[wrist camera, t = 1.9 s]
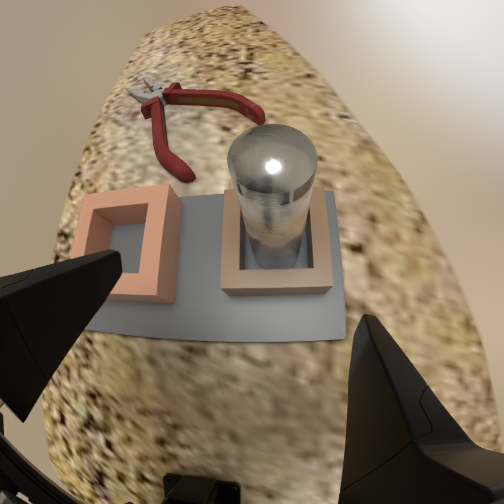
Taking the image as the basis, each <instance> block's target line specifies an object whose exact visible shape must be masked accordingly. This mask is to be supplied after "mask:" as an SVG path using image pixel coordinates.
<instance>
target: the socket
mask: <svg viewBox="0 0 504 504" xmlns="http://www.w3.org/2000/svg"><path fill="white" fill-rule="evenodd" d="M182 210H183V204H182V202H181V201H180V199H179V198H178V196H177V195H176V193H175V192H174V190H173V189H172V187H171V185H170V184H163V185H154V186H146V187H138V188H130V189H122V190H115V191H108V192H102V193H95V194H89V195H84V199H83V202H82V206H81V210H80V214H79V219H78V223H77V227H76V232H75V237H74V242H73V247H72V252H71V258H70V259H72V258H76V257H80V256H84V255H88V254H92V253H96V252H100V251H104V250H109V247H110V241H111V235H112V230H113V225H124V224H137V223H145V229H144V236H143V243H142V251H141V260H140V269H139V273H122V275H121V277H120V279H119V280H118V282H117V283H116V285H115V286H114V288H113V289H112V291H111V293H110V294H109V296H108V297H107V299H106V300H116V301H134V302H157V303H175V290H176V275H177V261H178V250H179V239H180V229H181V219H182Z"/></svg>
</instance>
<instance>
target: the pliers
mask: <svg viewBox="0 0 504 504" xmlns="http://www.w3.org/2000/svg"><path fill="white" fill-rule="evenodd" d="M143 80H144V81H145V83H146V84H147V85H148V87H149V88H150V89H151V91H152V93H150V94H149V93H146V92H145V91H143V90H139V89H129V88H126V90H127V91H128V92H129V93H130V94H132V95H133V96H134V97H135V98H136V99H138V100H139V101H140V102H142V103H144V104H142V105H141V112H142V114H143V116H144V117H145V119H148V118H151V119H152V135H153V146H154V150H155V154H156V156H157V159H158V160H159V162H160V163H161V165H162V166H164V167H165V168H166V169H167V170H168V171H170V172H171V173H172V174H173V175H175V176H176V177H177V178H178V179H179V180H181V181H183V182H191V181H193V180H194V179H195V178H196V177H195V174H194V173H193V171H192V170H191V168H190V167H189V166H188V165H187V164H186V163H185V162H184V161H183V160H181V159H180V158H179V157H177V156H176V155H175V154H174V153H172V152H171V151H170V150H169V148H168V140H167V132H166V123H165V114H164V106H165V105H166V104H171V105H198V106H214V107H224V108H229V109H233V110H235V111H238V112H240V113H241V114H243V115H244V116H246V117H247V118H249V119H250V120H252V121H253V122H255V123H256V124H258V125H259V126H260V125H262V124H263V123H264V120H265V113H264V111H263V109H262V108H261V107H260V106H258V105H257V104H255V103H253V102H252V101H250V100H249V99H247V98H245V97H244V96H242V95H240V94H237V93H233V92H227V91H220V90H196V89H182V88H181V86H180V83H172V84H171V85H170V87H169V88H165V89H164V90H163V89H162V88H161V86H160V85H159V84H158V83H156V82H153V81H151V80H148V79H145V78H143Z"/></svg>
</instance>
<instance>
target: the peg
mask: <svg viewBox="0 0 504 504" xmlns="http://www.w3.org/2000/svg"><path fill="white" fill-rule="evenodd" d="M227 163H228V168H229V171H230V175H231V178H232V182H233V185H234V189H235V192H236V196H237V199H238V203H239V206H240V210H241V213H242V217H243V220H244V224H245V227H246V231H247V234H248V238H249V241H250V245H251V248H252V252H253V255H254V258H255V260H256V261H257V263H258V264H259V265H260V266H261V267H263V268H264V269H288V268H290V267H291V266H292V265H293V264H294V263H295V262H296V260H297V259H298V256H299V253H300V248H301V243H302V238H303V234H304V229H305V224H306V219H307V214H308V209H309V204H310V199H311V194H312V188H313V183H314V178H315V172H316V166H317V153H316V149H315V147H314V145H313V143H312V142H311V141H310V139H309V138H308V137H307V136H306V135H305V134H303V133H302V132H300V131H298V130H297V129H294V128H292V127H289V126H286V125H280V124H265V125H260V126H256V127H253V128H251V129H249V130H247V131H245V132H244V133H242V134H241V135H240V136H238V137H237V138H236V139H235V141H234V142H233V143H232V145H231V147H230V149H229V152H228V157H227Z"/></svg>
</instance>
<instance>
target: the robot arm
mask: <svg viewBox="0 0 504 504" xmlns="http://www.w3.org/2000/svg"><path fill="white" fill-rule="evenodd" d="M122 272H123V268H122V260H121V254H120V252H119V251H116V250H113V249H109V250H104V251H100V252H96V253H92V254H88V255H84V256H80V257H76V258H72V259H69V260H65V261H61V262H57V263H53V264H50V265H46V266H42V267H38V268H35V269H31V270H27V271H24V272H20V273H16V274H12V275H8V276H4V277H0V408H1V407H2V405H3V404H5V405H6V407H7V408H9V409H10V411H11V412H13V414H14V415H15V416H16V417H17V418H18V419H19V420H21V422H23V423H24V421H25V420H26V419H27V417H28V415H29V413H30V412H31V409H32V408H33V407H34V405H35V403H36V402H37V400H38V398H39V397H40V395H41V393H42V392H43V390H44V388H45V387H46V385H47V384H48V382H49V380H50V379H51V377H52V376H53V374H54V373H55V371H56V370H57V368H58V366H59V365H60V364H61V362H62V361H63V359H64V358H65V356H66V355H67V353H68V352H69V350H70V349H71V347H72V346H73V345H74V343H75V342H76V340H77V339H78V338H79V336H80V335H81V333H82V332H83V331H84V329H85V328H86V326H87V325H88V324H89V322H90V321H91V320H92V318H93V317H94V316H95V314H96V313H97V312H98V310H99V309H100V308H101V306H102V305H103V304H104V302H105V301H106V299H107V297H108V296H109V294H110V293H111V291H112V289H113V288H114V286H115V285H116V283H117V282H118V280H119V279H120V277H121V275H122ZM426 384H427V383H426V382H425V380H424V379H423V378H422V376H421V375H420V373H419V372H418V371H417V369H416V368H415V367H414V365H413V364H412V363H411V361H410V360H409V359H408V357H407V356H406V355H405V353H404V352H403V351H402V349H401V348H400V347H399V345H398V344H397V343H396V342H395V340H394V339H393V338H392V336H391V335H390V334H389V333H388V331H387V330H386V329H385V327H384V326H383V325H382V324H381V322H380V321H379V320H378V319H377V317H376V316H374V315H369V314H364V315H363V316H362V318H361V320H360V322H359V324H358V326H357V329H356V331H355V333H354V337H353V346H352V354H351V362H350V370H349V380H348V409H347V427H346V441H345V452H344V462H343V471H342V480H341V487H340V494H339V500H338V504H504V453H499V452H495V451H491V450H487V449H484V448H481V447H479V446H478V445H476V444H475V443H474V442H473V441H472V440H471V439H470V438H469V437H468V435H467V434H466V433H465V432H464V431H463V429H462V428H461V427H460V426H459V424H458V423H457V422H456V421H455V420H454V418H453V417H452V416H451V415H450V414H449V412H448V411H447V410H446V409H445V407H444V406H443V405H442V404H441V402H440V401H439V400H438V398H437V397H436V395H435V394H434V393H433V391H432V390H431V389H430V387H429V386H428V385H426ZM3 425H4V424H3V415H2V414H1V412H0V504H28V503H27V502H25V501H24V500H22V499H20V498H19V497H17V496H16V495H17V493H18V492H20V493H22V494H23V495H25V496H26V497H28V498H29V499H28V500H29V501H30V502H31V503H32V504H83V503H82V502H80V501H79V500H77V499H76V498H74V497H73V496H72V495H70V494H69V493H67V492H66V491H65V490H63V489H62V488H61V487H59V486H58V485H57V484H56V483H54V482H53V481H52V480H50V479H49V478H48V477H47V476H46V475H44V474H43V473H42V472H41V471H40V470H38V469H37V468H36V467H35V466H34V465H33V464H32V463H31V462H30V461H28V460H27V459H26V458H25V457H24V456H23V455H22V454H21V453H20V452H19V451H18V450H17V449H16V448H15V447H14V446H13V445H12V444H11V443H10V442H9V441H8V440H7V439H6V438H5V437H4V426H3ZM167 477H169V478H170V479H171V480H169V479H168V478H167ZM163 483H164V491H165V499H164V501H163V502H162V503H161V504H241V486H240V485H239V484H238V483H235V482H224V481H215V480H214V479H208V478H200V477H194V476H187V475H184V476H180V475H175V474H170V473H167V474H165V476H164V477H163ZM232 487H236V488H237V489H233V488H232ZM125 504H133V503H131V502H127V503H125Z"/></svg>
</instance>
